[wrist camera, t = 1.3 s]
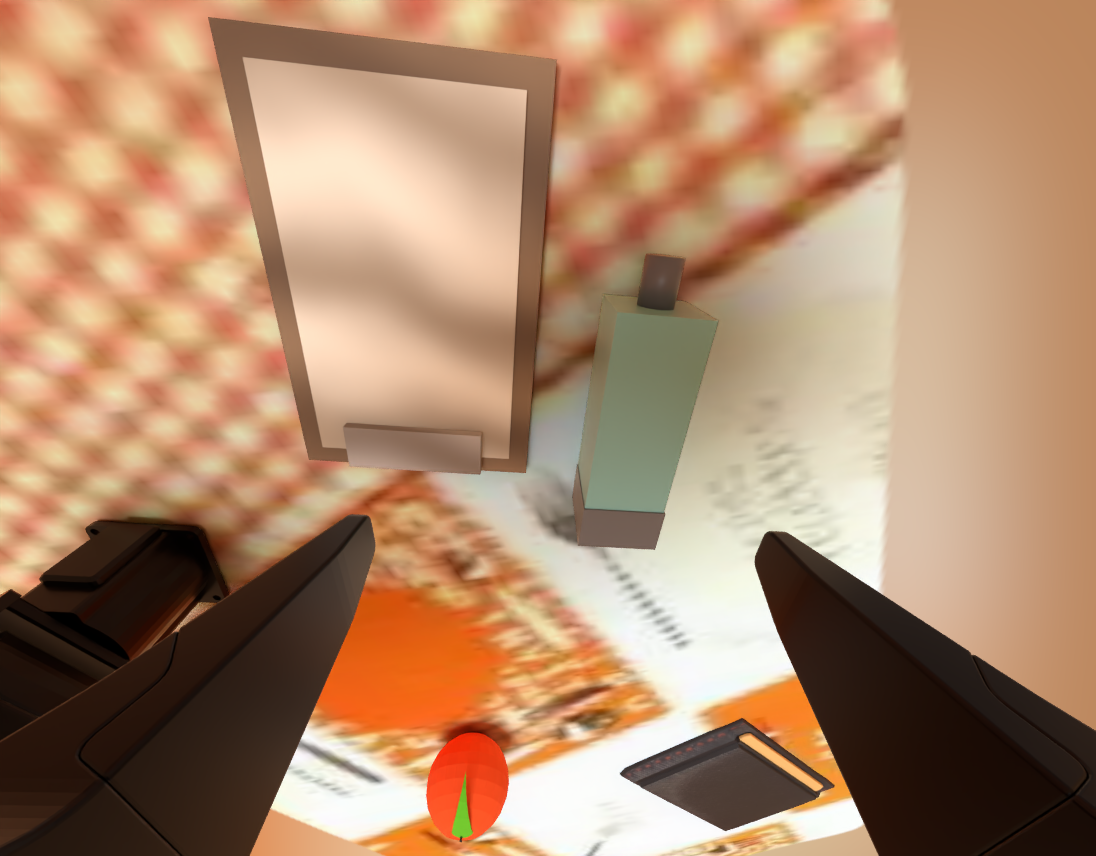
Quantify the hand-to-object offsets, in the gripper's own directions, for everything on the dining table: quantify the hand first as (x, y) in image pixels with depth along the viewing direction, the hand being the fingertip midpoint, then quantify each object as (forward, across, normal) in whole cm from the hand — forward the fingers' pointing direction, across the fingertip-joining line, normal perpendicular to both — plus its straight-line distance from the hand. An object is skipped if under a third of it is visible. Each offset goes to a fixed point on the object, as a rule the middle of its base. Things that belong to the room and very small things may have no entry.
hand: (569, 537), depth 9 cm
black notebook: (+14, -22, +45) cm, 52 cm away
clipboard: (+13, +7, -2) cm, 15 cm away
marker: (+13, -4, +3) cm, 14 cm away
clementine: (+13, +5, +37) cm, 39 cm away
